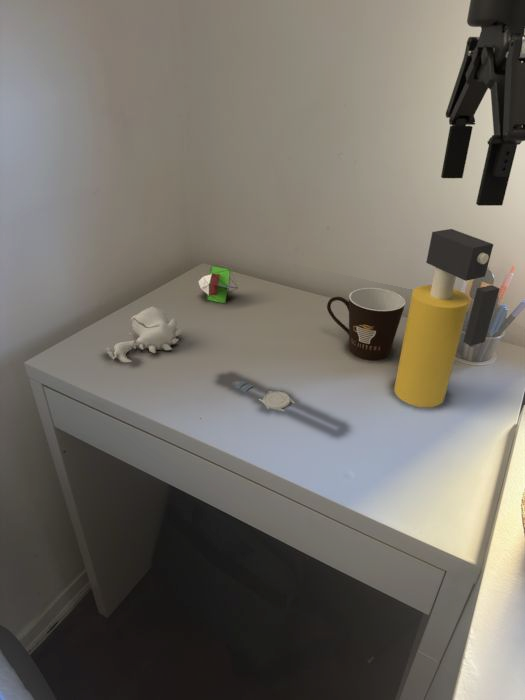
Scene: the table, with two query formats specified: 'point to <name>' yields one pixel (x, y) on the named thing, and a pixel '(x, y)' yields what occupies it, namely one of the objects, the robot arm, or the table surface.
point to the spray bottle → (438, 318)
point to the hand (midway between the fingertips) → (468, 190)
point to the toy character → (148, 333)
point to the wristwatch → (271, 398)
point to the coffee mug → (371, 321)
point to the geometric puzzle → (216, 284)
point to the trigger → (481, 315)
